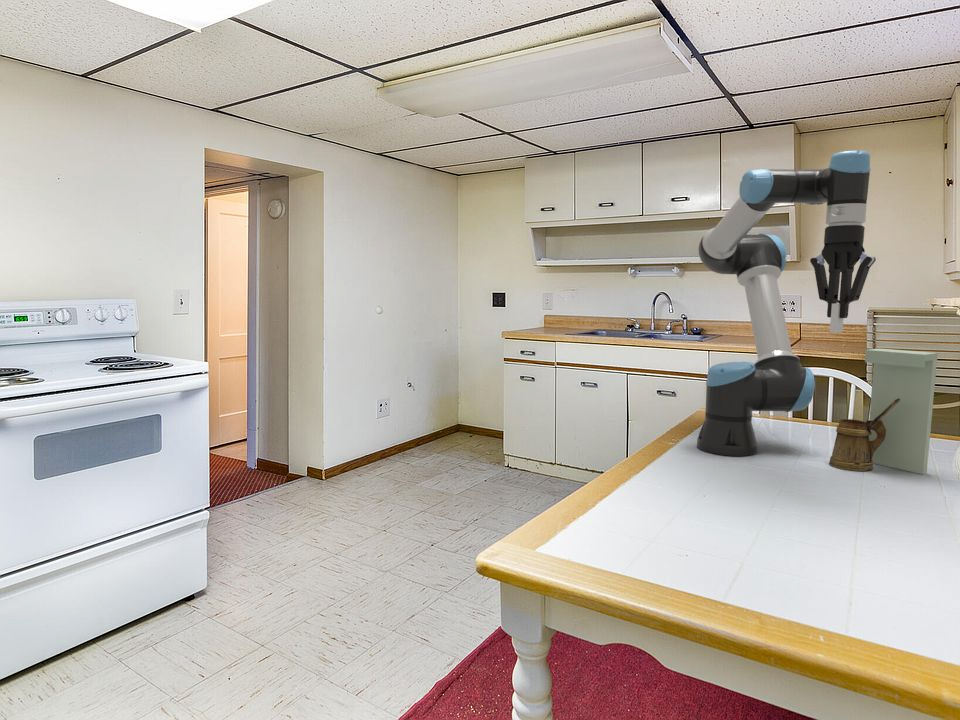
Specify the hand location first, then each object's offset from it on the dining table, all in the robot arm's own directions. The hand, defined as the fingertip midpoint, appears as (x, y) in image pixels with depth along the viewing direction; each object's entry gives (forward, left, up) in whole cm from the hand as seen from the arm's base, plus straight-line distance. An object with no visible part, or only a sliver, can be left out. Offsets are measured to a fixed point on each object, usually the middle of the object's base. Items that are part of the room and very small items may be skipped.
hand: (835, 332), depth 138 cm
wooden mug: (+1, +15, -34) cm, 37 cm away
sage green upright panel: (+5, +20, -33) cm, 40 cm away
